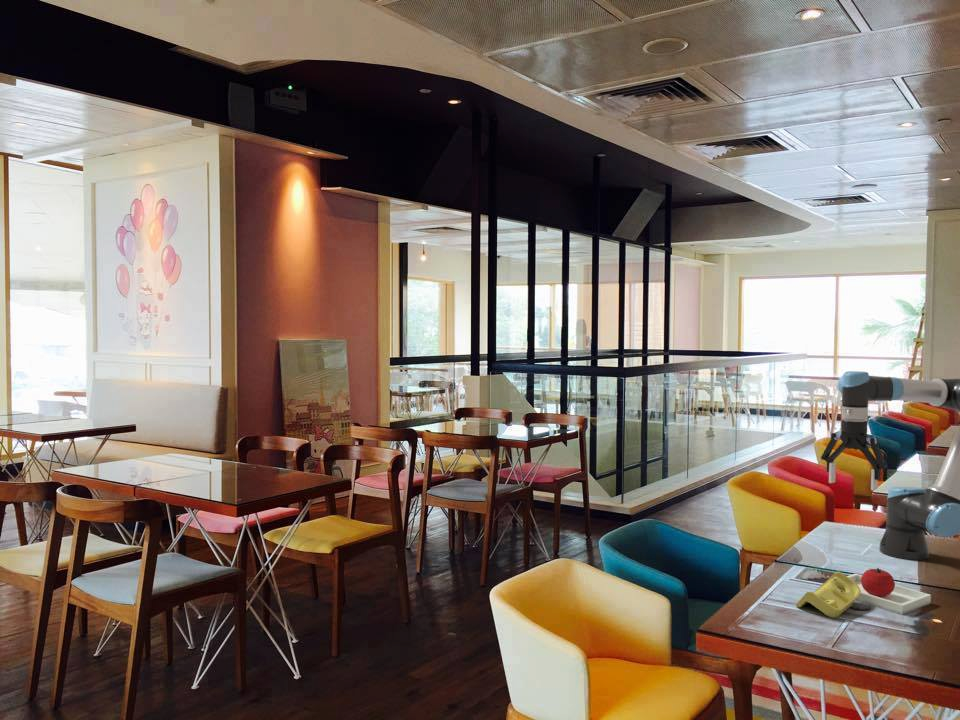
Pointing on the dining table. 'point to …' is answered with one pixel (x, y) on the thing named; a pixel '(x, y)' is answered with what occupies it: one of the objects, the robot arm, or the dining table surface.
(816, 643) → the dining table surface
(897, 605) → the tray
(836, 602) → the plastic component
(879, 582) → the tomato
